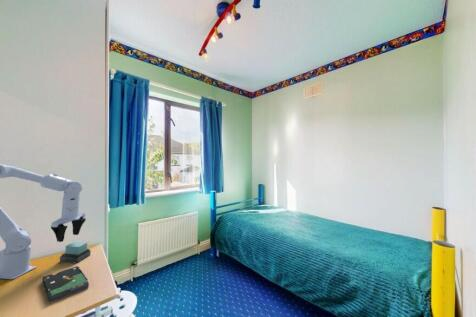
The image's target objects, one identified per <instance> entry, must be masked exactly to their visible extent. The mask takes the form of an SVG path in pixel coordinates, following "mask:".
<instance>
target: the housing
mask: <svg viewBox="0 0 476 317" xmlns="http://www.w3.org/2000/svg"><path fill="white" fill-rule="evenodd" d="M87 249H88V242H84V241H73V242H71V243H69V244H67V245H65V250H64V251H65V252H64V253H65V254H76V255H79V254H81V253H82V252H84V251H86V250H87Z"/></svg>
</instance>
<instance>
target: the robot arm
mask: <svg viewBox="0 0 476 317" xmlns="http://www.w3.org/2000/svg"><path fill="white" fill-rule="evenodd" d="M11 177H12V178H18V179H22V180H26V181H29V182H30V181H31V182H35V183H39V185H40V186H41V187H42V188H45V189H48V190H49V189H50V190H52V191H53V190H54V191H57V192H63V197H62V202H61V204H62V205H61V206H62V207H61V217H59V218H58V219H56V220H54V221H52V222H51V225H50V228H51V230H52V231H53V234H54V235H55V238H56V242H58V243H59V242H60V243H61V242H64V240H65V236H66V231H67V229H68V225H65V224H68V223H71V224H72V235H74V236H78V235H79V234H80V231H81V229H82V226H83V225H84V223H85V222H86V219H87V218H86V213H85V212H80V213H79V211H80V208H79V207H80V193H81V192H82V190H83V187H82V184H81V183H80V182H78V181H77V180H73V179H71V178H69V177H68V178H65V177H61V176H59V175H58V174H57V173H53V174H51V173H49V174H48V173H47V174H46V175H42V174H40V173H36V172H32V171H29V170H27V169H23V168H20V167H16V166H14V165H13V166H12V165H8V164H3V163H0V179H4V178H11ZM0 238H1V239H2V241H3V242H4V243H5V248H3V249H1V250H0V279H4V280H5V279H6V280H15V279H17V278H19V277H21V276H23V275H24V274H26V273H28V272H30V271H32V270H34V269H36V268H37V266H36V265H30V263H31V251H32V245H31V243H32V239H31V237H30V232H29V231H28V230H26V229H23V228H22V227H20V226H19V225H18V224H17V223H16V222H15V221H14V220H13V219H12V218H11V217H10V216H9V214H7V212H6V211H5V210H4V209H3V208H2V207H1V206H0Z"/></svg>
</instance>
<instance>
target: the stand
mask: <svg viewBox="0 0 476 317" xmlns="http://www.w3.org/2000/svg"><path fill="white" fill-rule="evenodd" d="M91 252H92V250H90V249H89V248H87V250H86V251H84V252H82V253H81V254H79V255H76V254H65V252H64V253H62V254H61V255H60V256H59V262H62V263H63V262H64V263H76V264H77V263H78V264H79V262H81V261H83V260H84V259H86V258H87V257H90V256H91Z"/></svg>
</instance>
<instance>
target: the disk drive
mask: <svg viewBox="0 0 476 317" xmlns="http://www.w3.org/2000/svg"><path fill="white" fill-rule="evenodd" d="M42 286H43V288H45V289H44V292H45V294H46V297H47V300H48V303H53V302H55V301H57V300H58V301H59V300H60V299H63V298H65V297H68V296H72V295H73V294H76V293H78V292H81V291H83V290H86V289H89V286H90V283H89V280H88V278H87V276H86V275H85V274H84V272H83V271H82V269H81V268H80V266H78V265H77V266H74V267H71V268H68V269H63V270H60V271H58V272H57V273H55V274H47V275H45V276H43V277H42Z"/></svg>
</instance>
